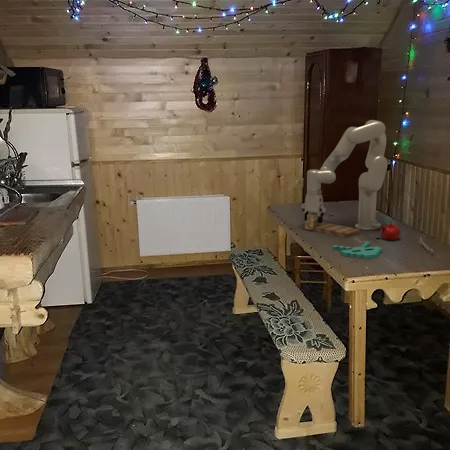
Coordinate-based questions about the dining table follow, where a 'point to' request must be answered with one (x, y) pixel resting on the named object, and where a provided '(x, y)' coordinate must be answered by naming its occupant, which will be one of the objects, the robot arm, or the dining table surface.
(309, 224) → the tan cardboard box
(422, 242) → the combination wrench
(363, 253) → the alien figure
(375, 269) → the dining table surface
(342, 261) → the dining table surface
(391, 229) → the pomegranate
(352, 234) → the walnut board
